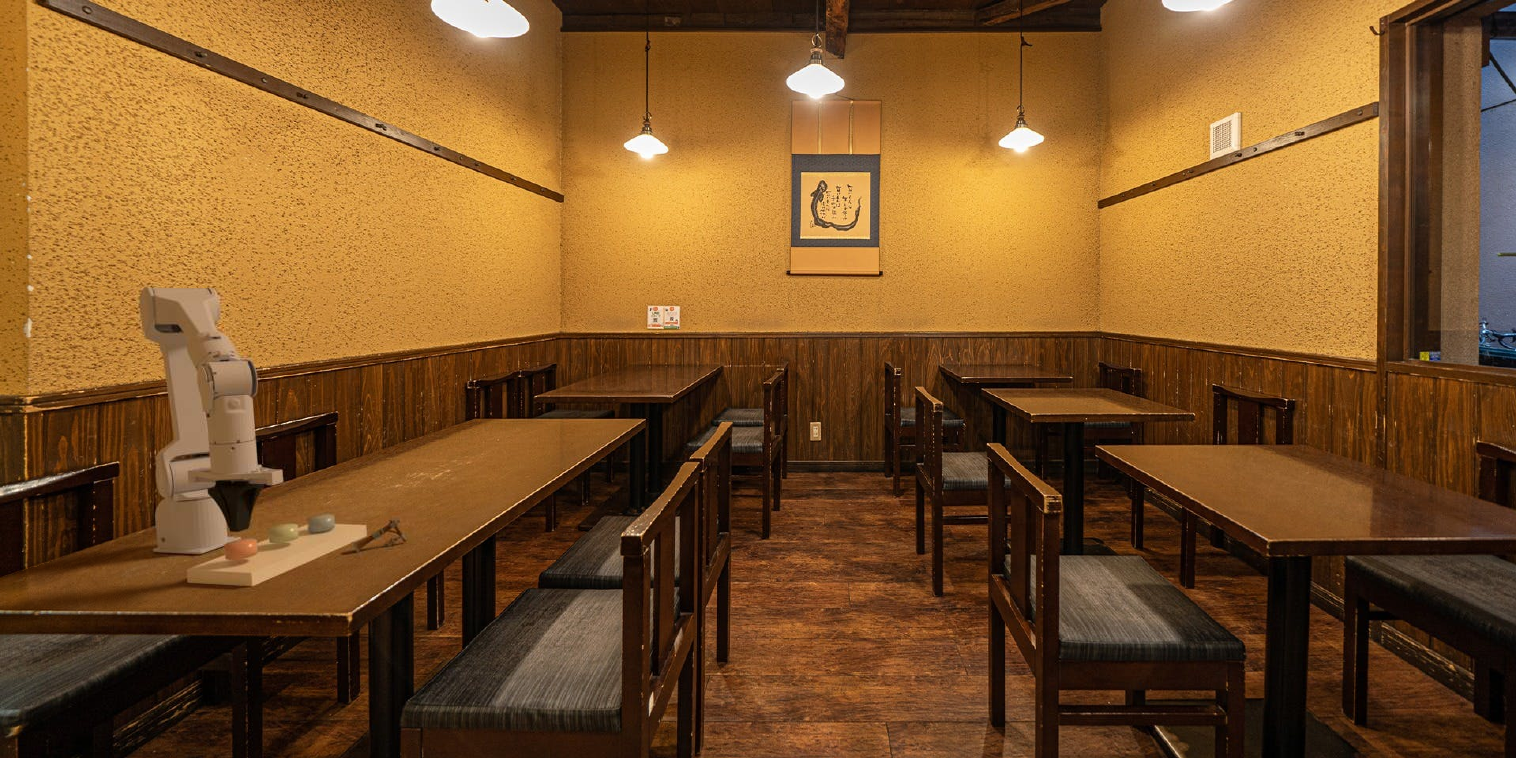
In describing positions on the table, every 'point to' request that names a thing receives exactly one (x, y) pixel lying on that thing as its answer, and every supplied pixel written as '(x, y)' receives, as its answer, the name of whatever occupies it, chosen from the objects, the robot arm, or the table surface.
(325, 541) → the button panel
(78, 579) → the table surface
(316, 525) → the slate button
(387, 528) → the wooden post with brackets
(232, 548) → the orange rounded dome
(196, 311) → the robot arm
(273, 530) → the sage button
